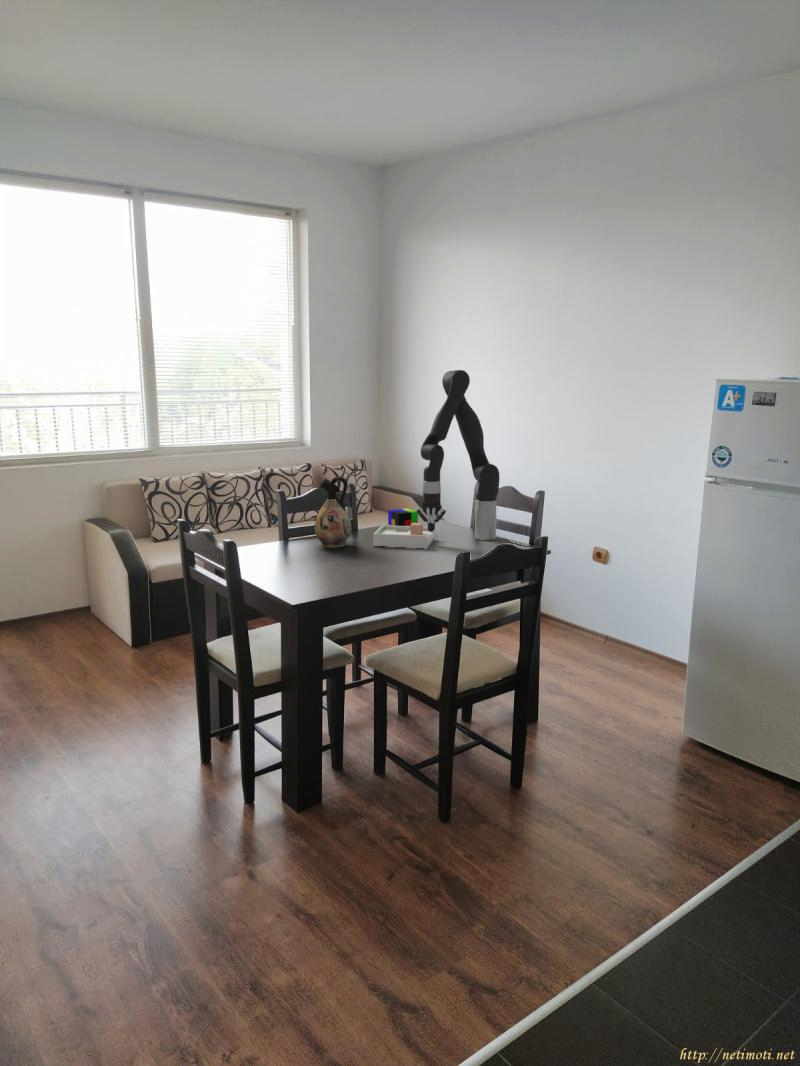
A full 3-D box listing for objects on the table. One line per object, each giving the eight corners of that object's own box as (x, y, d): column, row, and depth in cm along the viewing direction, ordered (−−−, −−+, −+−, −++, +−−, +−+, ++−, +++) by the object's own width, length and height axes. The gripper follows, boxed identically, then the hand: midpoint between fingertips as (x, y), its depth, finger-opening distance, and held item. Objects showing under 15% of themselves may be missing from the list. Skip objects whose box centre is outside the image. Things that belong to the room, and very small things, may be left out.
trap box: (433, 539, 336) (433, 527, 335) (426, 548, 318) (427, 536, 317) (382, 537, 340) (382, 525, 339) (373, 546, 323) (373, 533, 322)
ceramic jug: (313, 550, 316) (312, 478, 310) (316, 542, 331) (314, 473, 325) (355, 550, 317) (354, 478, 310) (355, 541, 332) (354, 473, 325)
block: (422, 533, 329) (422, 523, 328) (420, 535, 325) (420, 525, 324) (412, 533, 330) (412, 522, 329) (410, 535, 326) (410, 524, 325)
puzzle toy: (388, 531, 352) (388, 510, 350) (407, 529, 357) (407, 508, 355) (398, 535, 344) (398, 513, 341) (417, 533, 348) (417, 511, 346)
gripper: (448, 490, 324) (447, 530, 328) (417, 489, 327) (417, 529, 331) (446, 493, 317) (445, 534, 321) (414, 492, 320) (414, 532, 323)
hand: (431, 531), depth 326 cm, fingers closed
